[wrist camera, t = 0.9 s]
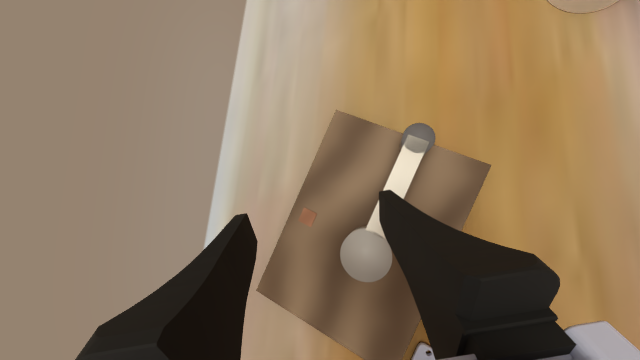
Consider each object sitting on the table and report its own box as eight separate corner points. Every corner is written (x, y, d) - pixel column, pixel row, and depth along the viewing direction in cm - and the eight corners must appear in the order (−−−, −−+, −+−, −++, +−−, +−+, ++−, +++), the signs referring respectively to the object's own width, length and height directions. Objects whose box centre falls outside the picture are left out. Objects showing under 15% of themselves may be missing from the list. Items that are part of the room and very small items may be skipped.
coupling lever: (379, 279, 23) (379, 292, 20) (338, 257, 24) (332, 266, 21) (441, 142, 23) (451, 132, 19) (397, 126, 24) (399, 115, 21)
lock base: (485, 167, 23) (492, 164, 22) (392, 369, 24) (393, 380, 22) (337, 113, 27) (335, 108, 26) (261, 286, 28) (254, 291, 26)
